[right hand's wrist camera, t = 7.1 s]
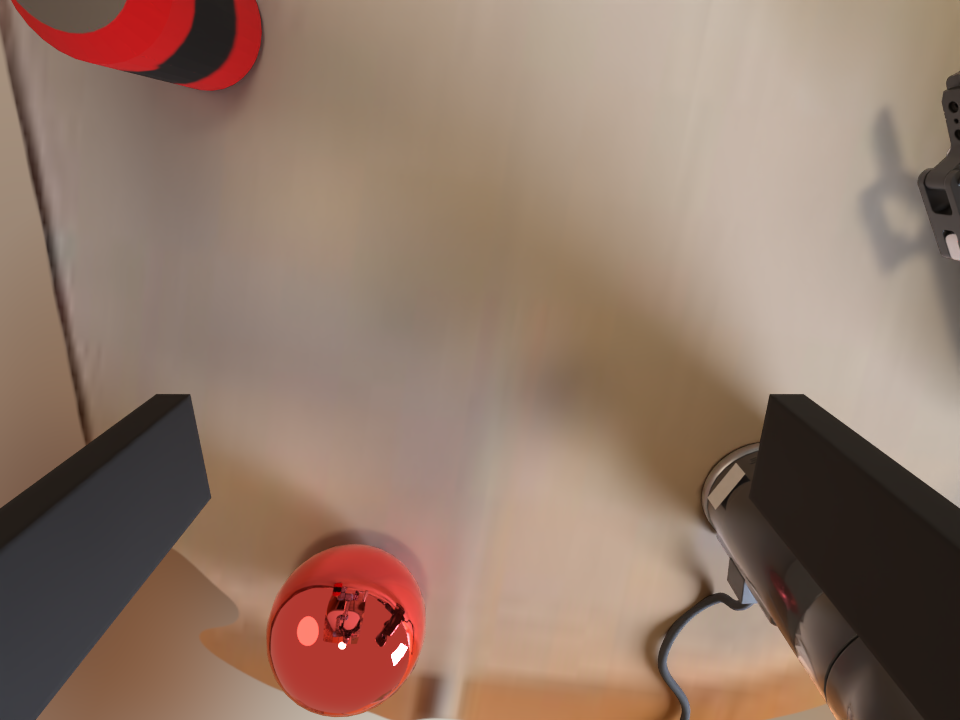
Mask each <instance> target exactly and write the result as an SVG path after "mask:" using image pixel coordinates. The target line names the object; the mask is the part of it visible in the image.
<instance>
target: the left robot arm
mask: <svg viewBox="0 0 960 720" xmlns="http://www.w3.org/2000/svg"><path fill="white" fill-rule="evenodd" d="M946 85H947V90H945V91H944V92H943V98H942V105H943V110H944V112H945V113H944V114H945V118H946V123H947V127H948V132H949V136H950V141H951V147H950V148H949V150H948V152H947V155H946V157H945V158H944V159H943V160H942V161H941V162H940V163H939V164H938V165H937V166H936V167H934V168H929V169H926V170H924V171H923V172H922V173H921V174H920V176H919V178H918V186H919V189H920V192H921V195H922V198H923V201H924V204H925V207H926V210H927V213H928V216H929V219H930V223H931V226H932V229H933V232H934V235H935V238H936V241H937V244H938V247H939V250H940V253H941V255H942V256H943V257H946V258H950V259H954V260H958V261H960V71H959V72H958V73H956V74H954V75H952V76H950V77H949V78H948V79H947V82H946ZM759 445H760V443H756V444H751V445H748V446H745V447H742V448H740V449H738V450H736V451H734V452H732V453H731V454H729V455H727V456H726V457H725V458H724V459H722V460H721V461H720V462H719V463H718V464H717V465H716V466H715V467H714V468H713V470H712V471H711V472H710V474H709V476H708V477H707V480H706V482H705V484H704V487H703V492H702V506H703V510H704V513H705V515H706V517H707V519H708V520H709V522H710V524H711V525H712V527H713V528H714V529H715V530H716V531H717V539H718V540H719V542H720V543H721V545H722V547H723V548H724V550H725V551H726V553H727V555H728V556H729V558H730V560H729V568H728V577H727V581H728V582H729V584H730V586H731V587H732V589H733V591H734V593H735V594H736V596H737V598H738V599H739V600H738V601H736V600H734V599H732V598H731V597H730V596H728V595H727V594H725V593H716V594H713V595H710V596H708V597H706V598H705V599H703V600H702V601H700V602H699V603H698V604H696V605H695V606H694V607H693V608H691V609H690V610H689V611H687V612H686V613H685V614H683V615H682V616H681V617H680V618H679V619H678V620H677V621H676V622H675V623H674V624H673V625H672V627H671V628H670V630H669V631H668V633H667V635H666V636H665V638H664V640H663V643H662V645H661V648H660V651H659V655H658V667H659V671H660V673H661V675H662V677H663V679H664V680H665V682H666V683H667V685H668V686H669V687H670V688H671V690H672V691H673V692H674V693H675V695H676V696H677V698H678V700H679V701H680V704H681V708H682V714H681V718H680V720H689V719H690V706H689V702H688V700H687V697H686V696H685V694H684V692H683V691H682V690H681V688H680V687H679V686H678V684H677V683H676V682H675V681H674V679H673V678H672V676H671V675H670V673H669V671H668V668H667V663H666V662H667V656H668V653H669V650H670V648H671V646H672V644H673V642H674V640H675V638H676V637H677V635H678V634H679V632H680V631H681V630H682V628H683V627H684V626H685V625H686V624H687V623H688V622H689V621H690V620H691V619H692V618H693V617H694V616H696V615H697V614H698V613H700V612H701V611H703V610H704V609H706V608H708V607H710V606H712V605H714V604H717V603H720V602H722V603H725V604H726V605H727V606H729V607H730V608H731V609H733V610H737V611H738V610H745V609H748V608H749V607H751V606H752V605H753V604H754V603H758V604H759V606H760V607H761V609H762V611H763V612H764V614H765V615H766V617H767V619H768V620H769V622H770V623H771V624H773V625H775V626H778V628H779V630H780V631H781V633H782V634H783V636H784V637H785V639H786V641H787V642H788V644H789V645H790V647H791V648H792V650H793V652H794V653H795V655H796V656H797V658H798V659H799V661H800V662H801V664H802V666H803V667H804V668H805V670H806V671H807V673H808V675H809V676H810V678H811V679H812V681H813V682H814V684H815V686H816V687H817V689H818V690H819V692H820V693H821V695H822V697H823V698H824V700H825V701H826V703H827V704H828V706H829V708H830V710H831V711H832V713H833V715H834V716H835V718H836V719H837V720H924V719H923V717H922V716H921V715H920V714H919V712H918V711H917V710H916V709H915V707H914V706H913V705H912V703H911V702H910V701H909V700H908V698H907V697H906V696H905V695H904V693H903V692H902V691H901V690H900V688H899V687H898V686H897V684H896V683H895V682H894V681H893V679H892V678H891V677H890V676H889V674H888V673H887V672H886V671H885V669H884V668H883V667H882V666H881V664H880V663H879V662H878V660H877V659H876V658H875V657H874V655H873V654H872V653H871V652H870V650H869V649H868V648H867V647H866V645H865V644H864V643H863V641H862V640H861V639H860V638H859V636H858V635H857V634H856V633H855V631H854V630H853V629H852V628H851V626H850V625H849V624H848V622H847V621H846V620H845V619H844V617H843V616H842V615H841V614H840V612H839V611H838V610H837V609H836V607H835V606H834V605H833V604H832V602H831V601H830V600H829V598H828V597H827V596H826V595H825V593H824V592H823V591H822V590H821V588H820V587H819V586H818V585H817V583H816V582H815V581H814V579H813V578H812V577H811V576H810V574H809V573H808V572H807V571H806V569H805V568H804V567H803V566H802V564H801V563H800V562H799V560H798V559H797V558H796V557H795V555H794V554H793V553H792V552H791V550H790V549H789V548H788V547H787V545H786V544H785V543H784V542H783V540H782V539H781V538H780V536H779V535H778V534H777V533H776V531H775V530H774V529H773V528H772V526H771V525H770V524H769V523H768V521H767V520H766V519H765V517H764V516H763V515H762V514H761V512H760V511H759V510H758V509H757V507H756V506H755V505H754V504H753V502H752V501H751V500H750V499H749V494H750V489H751V484H752V479H753V474H754V470H755V465H756V460H757V455H758V450H759Z"/></svg>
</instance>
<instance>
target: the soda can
mask: <svg viewBox="0 0 960 720" xmlns="http://www.w3.org/2000/svg"><path fill="white" fill-rule="evenodd" d="M11 1H12V3H13V4H14V6H15V8H16V10H17V11H18V12H19V13H20V15H21V16H22V17H23V19H24V20H25V21H26V23H27V24H28V25H29V26H30V27H31V28H32V29H33V30H34V31H35V32H36V33H37V34H38V35H39V36H40V37H41V38H42V39H43V40H45V41H46V42H47V43H49V44H50V45H52V46H53V47H54V48H56V49H57V50H59V51H61V52H63V53H65V54H67V55H69V56H71V57H73V58H75V59H78V60H82V61H86V62H89V63H93V64H97V65H101V66H105V67H109V68H113V69H117V70H121V71H126V72H130V73H134V74H138V75H142V76H146V77H150V78H154V79H158V80H162V81H166V82H170V83H174V84H178V85H182V86H186V87H190V88H194V89H199V90H210V91H213V90H219V89H224V88H227V87H229V86H231V85H234V84H235V83H237V82H238V81H239V80H241V79H242V78H243V77H244V76H245V75H246V74H247V73H248V72H249V70H250V69H251V68H252V66H253V64H254V62H255V60H256V58H257V55H258V52H259V48H260V44H261V34H262V31H261V18H260V14H259V10H258V6H257V3H256V0H11Z"/></svg>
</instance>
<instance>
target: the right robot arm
mask: <svg viewBox="0 0 960 720" xmlns="http://www.w3.org/2000/svg"><path fill="white" fill-rule="evenodd" d="M210 499H211V494H210V489H209V484H208V479H207V474H206V470H205V465H204V460H203V455H202V450H201V445H200V440H199V435H198V430H197V425H196V420H195V415H194V410H193V406H192V401H191V396H190V394H156V395H155V396H153V397H152V398H151V399H149V400H148V401H146V402H145V403H144V404H142V405H141V406H140V407H138V408H137V409H136V410H134V411H133V412H131V413H130V414H129V415H127V416H126V417H125V418H123V419H122V420H121V421H119V422H118V423H116V424H115V425H114V426H112V427H111V428H110V429H108V430H107V431H105V432H104V433H103V434H101V435H100V436H99V437H97V438H96V439H95V440H93V441H92V442H90V443H89V444H88V445H86V446H85V447H84V448H82V449H81V450H80V451H78V452H77V453H75V454H74V455H73V456H71V457H70V458H69V459H67V460H66V461H64V462H63V463H62V464H60V465H59V466H58V467H56V468H55V469H54V470H52V471H51V472H49V473H48V474H47V475H45V476H44V477H43V478H41V479H40V480H39V481H37V482H36V483H34V484H33V485H32V486H30V487H29V488H28V489H26V490H25V491H23V492H22V493H21V494H19V495H18V496H17V497H15V498H14V499H13V500H11V501H10V502H8V503H7V504H6V505H4V506H3V507H2V508H0V720H36V719H37V717H38V716H39V715H40V714H41V712H42V711H43V710H44V709H45V707H46V706H47V705H48V703H49V702H50V701H51V700H52V698H53V697H54V696H55V694H56V693H57V692H58V691H59V690H60V688H61V687H62V686H63V684H64V683H65V682H66V681H67V679H68V678H69V677H70V676H71V674H72V673H73V672H74V671H75V669H76V668H77V667H78V666H79V664H80V663H81V662H82V660H83V659H84V658H85V657H86V655H87V654H88V653H89V652H90V650H91V649H92V648H93V647H94V645H95V644H96V643H97V641H98V640H99V639H100V638H101V636H102V635H103V634H104V633H105V631H106V630H107V629H108V628H109V626H110V625H111V624H112V622H113V621H114V620H115V619H116V617H117V616H118V615H119V614H120V612H121V611H122V610H123V609H124V607H125V606H126V605H127V604H128V602H129V601H130V600H131V598H132V597H133V596H134V595H135V593H136V592H137V591H138V590H139V588H140V587H141V586H142V585H143V583H144V582H145V581H146V579H147V578H148V577H149V576H150V574H151V573H152V572H153V571H154V569H155V568H156V567H157V565H158V564H159V563H160V562H161V560H162V559H163V558H164V557H165V555H166V554H167V553H168V552H169V550H170V549H171V548H172V547H173V545H174V544H175V543H176V542H177V540H178V539H179V538H180V536H181V535H182V534H183V533H184V531H185V530H186V529H187V528H188V526H189V525H190V524H191V523H192V521H193V520H194V519H195V517H196V516H197V515H198V514H199V512H200V511H201V510H202V509H203V507H204V506H205V505H206V504H207V502H208V501H209V500H210ZM749 499H750V500H751V501H752V502H753V504H754V505H755V506H756V507H757V509H758V510H759V511H760V512H761V514H762V515H763V516H764V517H765V519H766V520H767V521H768V523H769V524H770V525H771V526H772V528H773V529H774V530H775V531H776V533H777V534H778V535H779V536H780V538H781V539H782V540H783V542H784V543H785V544H786V545H787V547H788V548H789V549H790V550H791V552H792V553H793V554H794V555H795V557H796V558H797V559H798V560H799V562H800V563H801V564H802V566H803V567H804V568H805V569H806V571H807V572H808V573H809V574H810V576H811V577H812V578H813V579H814V581H815V582H816V583H817V585H818V586H819V587H820V588H821V590H822V591H823V592H824V593H825V595H826V596H827V597H828V598H829V600H830V601H831V602H832V604H833V605H834V606H835V607H836V609H837V610H838V611H839V612H840V614H841V615H842V616H843V617H844V619H845V620H846V621H847V622H848V624H849V625H850V626H851V628H852V629H853V630H854V631H855V633H856V634H857V635H858V636H859V638H860V639H861V640H862V641H863V643H864V644H865V645H866V647H867V648H868V649H869V650H870V652H871V653H872V654H873V655H874V657H875V658H876V659H877V660H878V662H879V663H880V664H881V666H882V667H883V668H884V669H885V671H886V672H887V673H888V674H889V676H890V677H891V678H892V679H893V681H894V682H895V683H896V684H897V686H898V687H899V688H900V690H901V691H902V692H903V693H904V695H905V696H906V697H907V698H908V700H909V701H910V702H911V703H912V705H913V706H914V707H915V709H916V710H917V711H918V712H919V714H920V715H921V716H922V717H923V719H924V720H960V508H958V507H957V506H956V505H954V504H953V503H952V502H950V501H949V500H947V499H946V498H945V497H943V496H942V495H941V494H939V493H938V492H937V491H935V490H934V489H932V488H931V487H930V486H928V485H927V484H926V483H924V482H923V481H921V480H920V479H919V478H917V477H916V476H915V475H913V474H912V473H911V472H909V471H908V470H906V469H905V468H904V467H902V466H901V465H900V464H898V463H897V462H896V461H894V460H893V459H891V458H890V457H889V456H887V455H886V454H885V453H883V452H882V451H880V450H879V449H878V448H876V447H875V446H874V445H872V444H871V443H870V442H868V441H867V440H865V439H864V438H863V437H861V436H860V435H859V434H857V433H856V432H855V431H853V430H852V429H850V428H849V427H848V426H846V425H845V424H844V423H842V422H841V421H839V420H838V419H837V418H835V417H834V416H833V415H831V414H830V413H829V412H827V411H826V410H824V409H823V408H822V407H820V406H819V405H818V404H816V403H815V402H814V401H812V400H811V399H809V398H808V397H807V396H805V395H804V394H770V396H769V401H768V406H767V410H766V415H765V420H764V425H763V430H762V435H761V440H760V445H759V450H758V455H757V460H756V465H755V470H754V474H753V479H752V484H751V489H750V494H749Z"/></svg>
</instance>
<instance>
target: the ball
mask: <svg viewBox="0 0 960 720" xmlns="http://www.w3.org/2000/svg"><path fill="white" fill-rule="evenodd" d="M425 633H426V617H425V604H424V600H423V597H422V594H421V592H420V589H419V586H418V583H417V581H416V580H415V578H414V577H413V575H412V574H411V573H410V571H409V570H408V569H407V567H406V566H405V565H404V564H403V563H402V562H401V561H399V560H398V559H397V558H396V557H394V556H393V555H392V554H390V553H388V552H386V551H384V550H382V549H380V548H377V547H373V546H369V545H364V544H346V545H339V546H334V547H331V548H329V549H326V550H324V551H321V552H319V553H317V554H315V555H313V556H312V557H311V558H309V559H308V560H307V561H305V562H304V563H302V564H301V565H300V566H299V567H297V568H296V569H295V570H294V571H293V573H292V574H291V575H290V577H289V578H288V579H287V580H286V582H285V583H284V584H283V586H282V587H281V589H280V590H279V592H278V594H277V596H276V598H275V601H274V603H273V606H272V609H271V612H270V615H269V618H268V623H267V656H268V660H269V663H270V666H271V669H272V672H273V675H274V677H275V679H276V681H277V682H278V684H279V685H280V687H281V688H282V690H283V691H284V692H285V694H286V695H287V696H288V697H289V698H291V699H292V700H293V701H294V702H295V703H296V704H297V705H299V706H301V707H303V708H304V709H306V710H308V711H310V712H313V713H316V714H319V715H323V716H330V717H347V716H352V715H357V714H361V713H364V712H366V711H368V710H370V709H373V708H375V707H377V706H379V705H380V704H382V703H383V702H384V701H386V700H387V699H388V698H389V697H391V696H392V695H393V694H394V693H396V692H397V691H398V690H399V689H400V688H401V686H402V685H403V684H404V682H405V681H406V679H407V678H408V677H409V675H410V674H411V672H412V671H413V669H414V667H415V666H416V664H417V661H418V659H419V656H420V652H421V649H422V646H423V642H424V639H425Z"/></svg>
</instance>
